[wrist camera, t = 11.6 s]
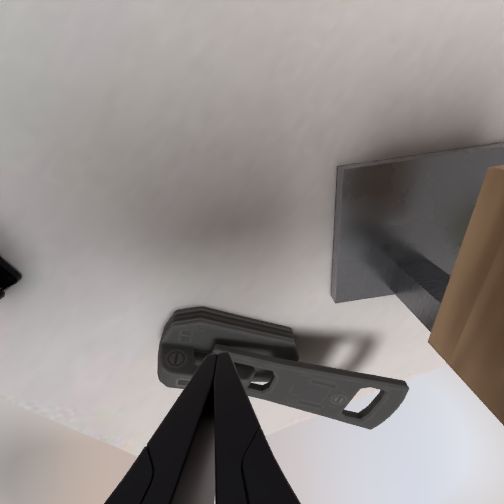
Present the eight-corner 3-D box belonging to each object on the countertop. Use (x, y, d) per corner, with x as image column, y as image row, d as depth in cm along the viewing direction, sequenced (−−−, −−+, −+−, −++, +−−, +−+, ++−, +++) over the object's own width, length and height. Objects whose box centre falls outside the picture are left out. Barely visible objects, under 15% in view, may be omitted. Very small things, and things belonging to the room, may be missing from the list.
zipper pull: (374, 434, 28) (141, 422, 22) (349, 379, 33) (159, 359, 28) (421, 386, 24) (149, 359, 18) (383, 333, 29) (168, 300, 24)
